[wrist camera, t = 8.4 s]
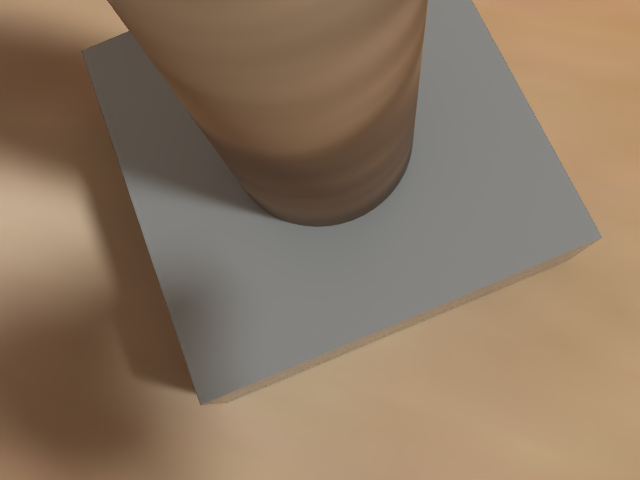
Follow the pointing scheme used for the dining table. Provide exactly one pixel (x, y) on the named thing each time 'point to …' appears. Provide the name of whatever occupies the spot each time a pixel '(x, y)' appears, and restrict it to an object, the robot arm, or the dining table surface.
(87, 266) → the dining table surface
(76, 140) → the dining table surface
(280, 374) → the tile
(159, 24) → the post
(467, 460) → the dining table surface
